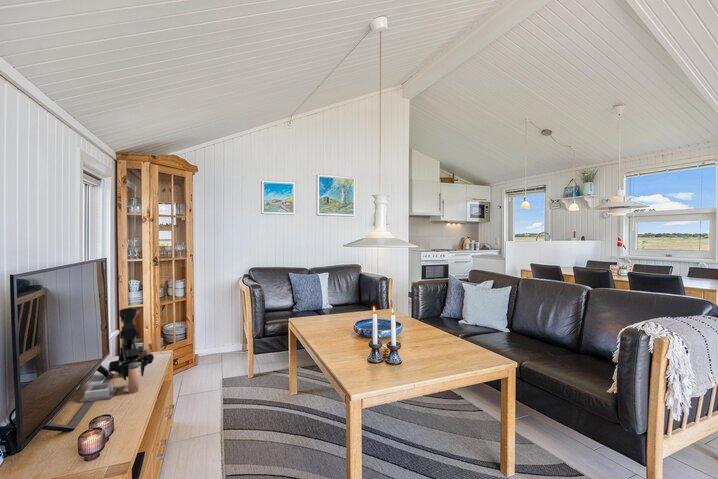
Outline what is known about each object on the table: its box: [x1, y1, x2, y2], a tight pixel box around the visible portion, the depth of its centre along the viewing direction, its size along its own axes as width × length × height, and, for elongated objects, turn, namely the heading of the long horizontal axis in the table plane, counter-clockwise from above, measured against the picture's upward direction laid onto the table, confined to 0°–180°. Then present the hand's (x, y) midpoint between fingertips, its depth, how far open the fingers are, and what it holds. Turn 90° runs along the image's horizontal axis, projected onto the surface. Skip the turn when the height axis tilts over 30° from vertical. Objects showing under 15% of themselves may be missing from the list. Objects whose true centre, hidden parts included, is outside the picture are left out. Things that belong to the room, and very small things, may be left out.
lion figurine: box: [138, 348, 153, 359], centre depth 209 cm, size 15×5×9 cm, turn 94°
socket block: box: [79, 381, 119, 404], centre depth 169 cm, size 12×12×4 cm
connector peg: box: [127, 362, 140, 394], centre depth 174 cm, size 4×4×14 cm
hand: (134, 378), depth 173 cm, fingers open, 7 cm apart
